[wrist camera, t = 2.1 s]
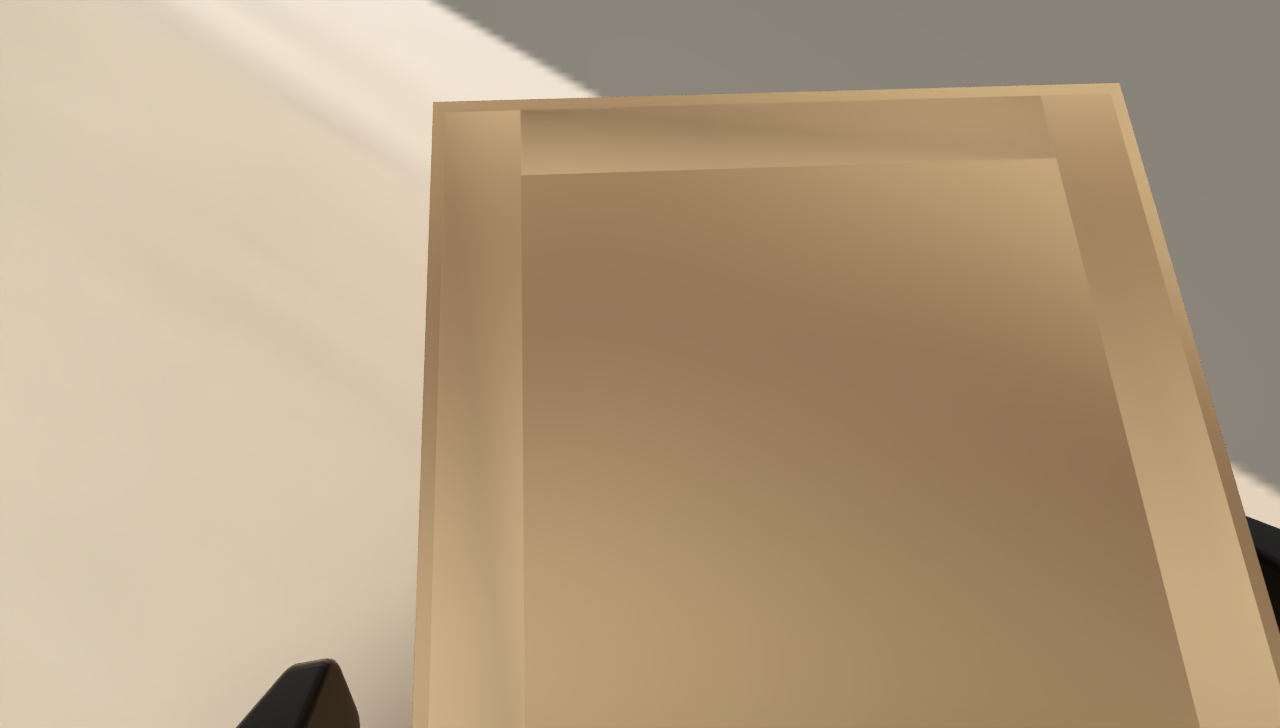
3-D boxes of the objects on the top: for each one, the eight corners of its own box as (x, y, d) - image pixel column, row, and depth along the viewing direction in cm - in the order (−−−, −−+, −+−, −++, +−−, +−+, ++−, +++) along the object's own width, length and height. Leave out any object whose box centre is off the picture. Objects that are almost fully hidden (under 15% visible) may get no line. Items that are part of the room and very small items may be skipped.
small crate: (829, 682, 16) (1348, 866, 5) (558, 699, 16) (404, 935, 4) (797, 420, 18) (1119, 82, 6) (553, 431, 18) (433, 102, 6)
